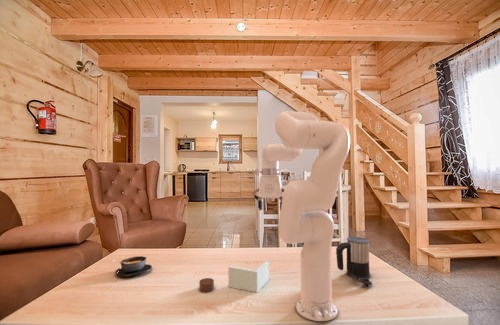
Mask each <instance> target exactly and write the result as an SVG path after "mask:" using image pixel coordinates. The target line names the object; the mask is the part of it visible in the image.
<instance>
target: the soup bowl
mask: <svg viewBox="0 0 500 325" xmlns="http://www.w3.org/2000/svg"><path fill="white" fill-rule="evenodd" d="M111 261H112V262H116V263H120V266H121V267H119V268H117V269H115V271H114V273H115V275H117V276H122V277H128V278H129V277H132V276H137V275H141V274H144V273H147V272H149V271H150V270H151V269H152V268H153V266H152V265H151V264H146V263H147V257H146V256H143V255H141V256H132V257H131V256H130V257H127V258H125V259H122V260H120V261H118V260H113V259H112V260H111ZM120 268H121V269H120ZM118 271H119V272H118ZM117 272H118V273H117Z"/></svg>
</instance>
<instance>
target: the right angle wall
mask: <svg viewBox="0 0 500 325" xmlns="http://www.w3.org/2000/svg"><path fill="white" fill-rule="evenodd" d="M269 264H270V263H269V260H266V261H265V262H263V264H261V265H260V266H259V267H258V268H257V269H256V270H255V269H249V268H243V267H238V266H232V265H229V266H228V272H227V274H228V287H230V288H233V289H238V290H243V291H247V292H253V293H258V292H259V291H260V290H261V289H262V288H263V287H264V286H265V285H266V283H268V282H269V281H270V265H269Z"/></svg>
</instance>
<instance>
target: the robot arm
mask: <svg viewBox="0 0 500 325" xmlns="http://www.w3.org/2000/svg"><path fill="white" fill-rule="evenodd" d="M274 128H275V129H274V130H275V132H276V134H277V135H278V137H280V142H281V143H268V144H266V145H264V146H262V147H261V169H260V170H258V172H259V174H261V175H259V176H260V177H259V183H258V188H257V189H255V190H253V191H252V192H251V193H252V195H253V197H254V199H255V200H256V201H257V208H258V210H259V211H262V210H263V199H278V200H279V211H280V212H279V220H278V234H279V237H280V239H281V240H282V242H284V243H286V244H288V245H289V244H290V245H294V244H295V245H296V244H303V246H302V248H301V251H300V300H298V301H297V303H296V308H295V309H296V312H297V313H298V314H299V315H300V316H301V317H303V318H305V319H307V320H310V321H313V322H328V321H332V320H333V319H335V318H336V317H337V316H338V307H337V306H336V305H335V304H334V303H333V295H332V294H333V289H332V288H333V287H332V286H333V284H332V247H333V246H332V245H333V238H334V232H335V222H334V219H333V217H332V216H331V215H330V214H329V213H328V212H326V211H327V210H330V209H331V208H333V206H334V204H335V201H336V198H337V192H338V190H339V189H338V188H339V183H340V180H341V179H340V178H341V173H342V171H343V170H342V169H343V166H344V164H345V162H346V159H347V158H348V154H349V151H350V146H351V138H350V137H351V136H350V134H349V133H350V132H349V131H348V128H347V127H345V126H344V125H343V124H342V123H340V122H338V121H337V122H336V121H331V120H319V119H318V118H317V116H316V115H315V114H313V113H311V112H308V111H294V110H285V111H282V112H280V113H279V114H278V115H277V116H276V119H275V121H274ZM320 149H321V150H322V152H321V153H319V154H318V155H317V157H316V158H315V159H314V161H313V163H312V165H311V169H310V175H309V177H308V179H297V180H291V181H290V182H288V183H287V184H286V186H285V187H284V188H283V185H282V184H283V183H282V178H281V175H280V169H279V168H280V166H279V165H280V163H279V162H292V161H295V160H296V159H298V158H299V157H301V155H302V153H303V150H320Z"/></svg>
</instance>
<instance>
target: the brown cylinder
mask: <svg viewBox="0 0 500 325" xmlns="http://www.w3.org/2000/svg"><path fill="white" fill-rule="evenodd" d="M198 283H199V284H198V285H199V287H198V288H199V291H200V292H202V293H210V292H212V291H214V290H215V280H214V279H213V278H212V277H211V278H210V277H205V278H201V279H199V282H198Z"/></svg>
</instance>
